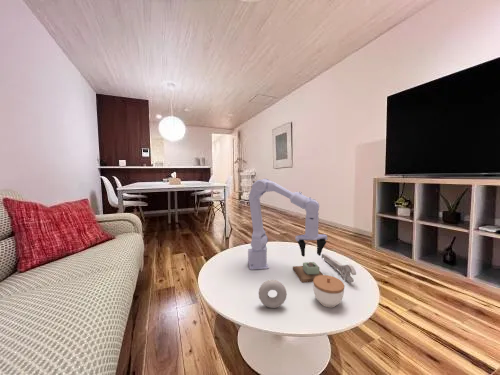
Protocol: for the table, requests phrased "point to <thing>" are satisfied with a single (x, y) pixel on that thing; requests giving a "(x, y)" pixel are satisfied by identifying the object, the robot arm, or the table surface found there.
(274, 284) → the donut
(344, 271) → the wrench
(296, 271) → the peg base
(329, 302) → the lidded jar
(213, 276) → the table surface
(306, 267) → the collar
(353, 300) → the table surface
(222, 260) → the table surface
